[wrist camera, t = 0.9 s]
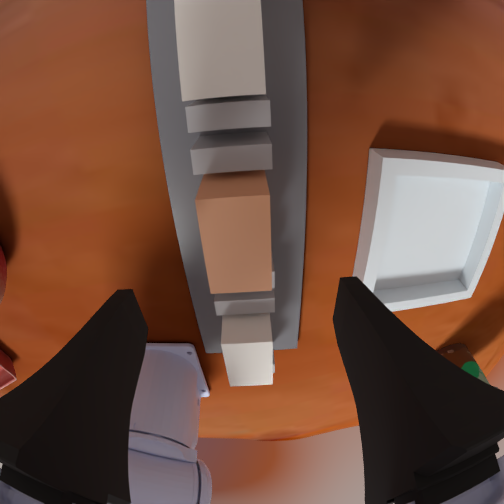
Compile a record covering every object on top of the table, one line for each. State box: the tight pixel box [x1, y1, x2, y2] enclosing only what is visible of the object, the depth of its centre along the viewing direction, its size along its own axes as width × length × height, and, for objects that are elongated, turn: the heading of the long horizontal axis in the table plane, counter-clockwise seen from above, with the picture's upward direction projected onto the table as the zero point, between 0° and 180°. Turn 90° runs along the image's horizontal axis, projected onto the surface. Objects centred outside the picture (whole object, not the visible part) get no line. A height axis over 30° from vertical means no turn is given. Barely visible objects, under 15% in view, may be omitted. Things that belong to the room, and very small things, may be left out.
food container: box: [437, 343, 497, 388], centre depth 26 cm, size 12×6×10 cm, turn 45°
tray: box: [352, 148, 504, 312], centre depth 19 cm, size 12×12×2 cm
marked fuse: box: [195, 170, 272, 294], centre depth 15 cm, size 5×3×5 cm, turn 3°
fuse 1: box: [174, 0, 266, 101], centre depth 10 cm, size 5×3×5 cm, turn 3°
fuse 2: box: [221, 313, 273, 386], centre depth 20 cm, size 5×3×5 cm, turn 3°
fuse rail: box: [146, 0, 307, 373], centre depth 16 cm, size 28×8×4 cm, turn 3°
